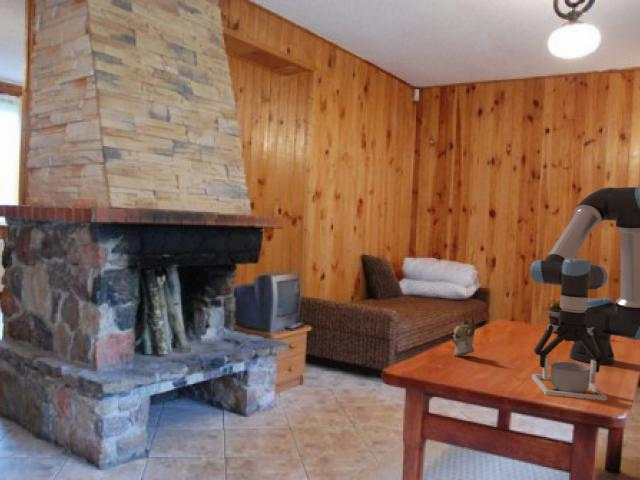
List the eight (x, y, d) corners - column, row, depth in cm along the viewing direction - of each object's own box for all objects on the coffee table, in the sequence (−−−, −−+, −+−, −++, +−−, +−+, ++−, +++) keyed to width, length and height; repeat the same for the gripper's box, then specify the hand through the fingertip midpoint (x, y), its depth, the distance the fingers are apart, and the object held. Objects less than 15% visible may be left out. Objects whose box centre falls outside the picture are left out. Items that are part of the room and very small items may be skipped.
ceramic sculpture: (445, 352, 211) (448, 312, 210) (467, 353, 212) (470, 313, 211) (454, 359, 200) (457, 317, 200) (478, 360, 201) (481, 318, 200)
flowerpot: (539, 329, 271) (542, 288, 271) (569, 331, 273) (572, 290, 272) (555, 336, 257) (558, 292, 256) (586, 337, 259) (589, 294, 258)
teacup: (593, 399, 161) (595, 371, 161) (552, 394, 163) (554, 367, 163) (580, 386, 175) (582, 360, 175) (543, 382, 177) (545, 356, 177)
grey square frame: (586, 385, 178) (586, 379, 178) (606, 403, 159) (607, 396, 159) (531, 380, 180) (532, 373, 180) (545, 397, 162) (546, 390, 162)
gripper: (612, 311, 170) (607, 380, 171) (527, 305, 174) (522, 373, 175) (622, 315, 163) (616, 387, 163) (532, 308, 166) (527, 379, 167)
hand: (568, 380), depth 169 cm, fingers open, 13 cm apart
